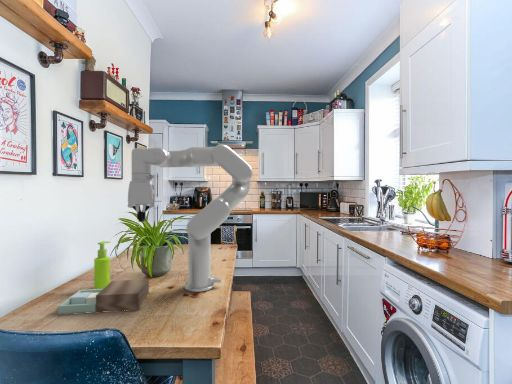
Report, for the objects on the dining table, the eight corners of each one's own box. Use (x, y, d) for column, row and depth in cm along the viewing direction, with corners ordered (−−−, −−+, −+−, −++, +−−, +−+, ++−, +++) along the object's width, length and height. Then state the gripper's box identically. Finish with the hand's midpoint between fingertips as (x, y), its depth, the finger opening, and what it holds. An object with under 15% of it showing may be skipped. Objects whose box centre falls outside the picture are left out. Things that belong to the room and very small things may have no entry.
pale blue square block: (78, 292, 108) (78, 299, 108) (70, 297, 103) (70, 305, 103) (91, 292, 108) (91, 299, 108) (85, 297, 103) (85, 304, 103)
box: (111, 295, 114) (111, 288, 114) (95, 312, 98) (95, 304, 98) (79, 297, 112) (79, 289, 112) (58, 315, 96) (57, 306, 96)
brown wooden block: (148, 293, 116) (148, 279, 116) (138, 310, 100) (138, 293, 100) (112, 295, 114) (112, 280, 114) (96, 312, 98) (95, 295, 98)
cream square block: (106, 299, 108) (106, 292, 108) (101, 304, 103) (101, 297, 103) (92, 300, 108) (91, 292, 108) (86, 305, 103) (86, 297, 103)
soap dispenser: (114, 286, 125) (114, 240, 125) (102, 291, 118) (102, 243, 118) (103, 285, 127) (103, 240, 127) (91, 290, 120) (90, 243, 120)
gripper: (161, 178, 125) (161, 220, 125) (125, 178, 122) (125, 220, 123) (158, 177, 117) (158, 222, 117) (119, 177, 115) (119, 222, 115)
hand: (141, 221), depth 120 cm, fingers closed
